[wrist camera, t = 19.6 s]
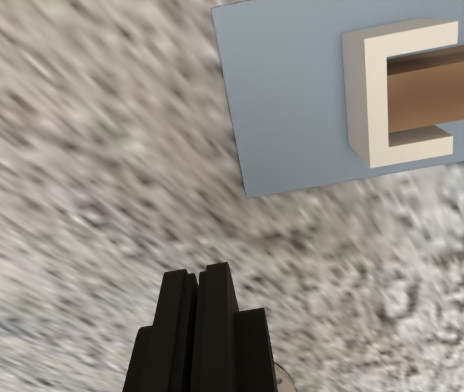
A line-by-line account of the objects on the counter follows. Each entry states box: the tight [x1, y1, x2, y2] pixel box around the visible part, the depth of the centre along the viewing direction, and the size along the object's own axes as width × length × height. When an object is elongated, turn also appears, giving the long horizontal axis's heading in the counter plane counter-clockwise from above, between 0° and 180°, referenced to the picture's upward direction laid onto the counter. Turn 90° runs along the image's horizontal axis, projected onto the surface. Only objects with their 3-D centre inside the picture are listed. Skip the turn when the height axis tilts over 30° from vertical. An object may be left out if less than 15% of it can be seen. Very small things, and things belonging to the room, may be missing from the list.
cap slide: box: [341, 18, 458, 168], centre depth 27 cm, size 8×5×5 cm, turn 10°
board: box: [211, 0, 464, 199], centre depth 30 cm, size 14×27×1 cm, turn 100°
